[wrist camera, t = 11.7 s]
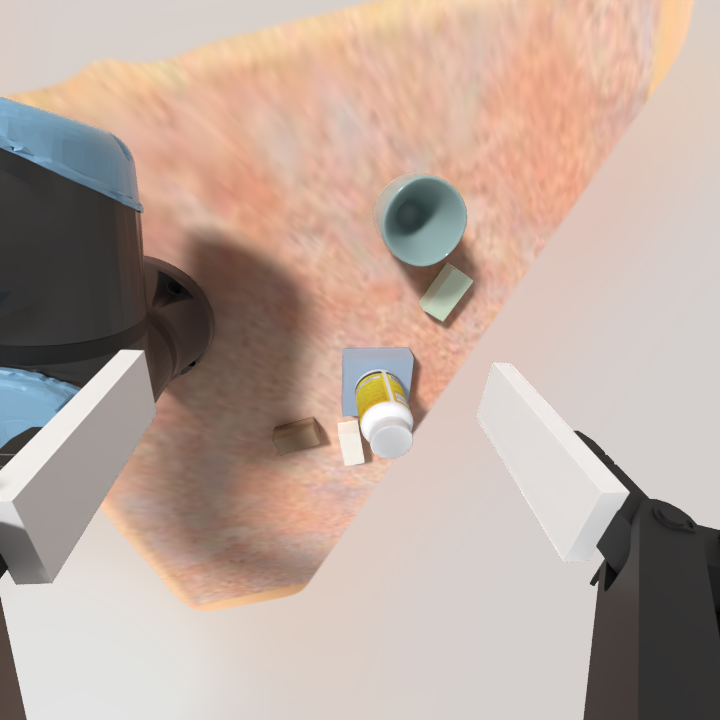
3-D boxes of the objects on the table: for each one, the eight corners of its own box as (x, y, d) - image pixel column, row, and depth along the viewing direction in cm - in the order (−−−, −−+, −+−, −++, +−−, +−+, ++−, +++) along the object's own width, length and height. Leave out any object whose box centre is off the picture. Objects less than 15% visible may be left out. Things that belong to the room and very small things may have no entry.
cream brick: (362, 449, 59) (364, 462, 57) (343, 452, 59) (345, 466, 57) (357, 419, 56) (359, 432, 54) (337, 422, 56) (338, 435, 54)
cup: (450, 201, 43) (485, 214, 34) (406, 257, 45) (427, 282, 36) (398, 154, 40) (422, 154, 31) (354, 217, 42) (364, 233, 34)
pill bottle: (350, 404, 51) (357, 462, 41) (358, 364, 48) (369, 417, 38) (394, 408, 52) (411, 466, 42) (405, 370, 49) (426, 423, 39)
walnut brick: (282, 441, 57) (280, 455, 54) (274, 426, 55) (272, 440, 53) (319, 430, 57) (320, 444, 54) (313, 415, 55) (313, 428, 53)
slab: (341, 403, 54) (342, 416, 52) (342, 348, 50) (344, 359, 47) (402, 402, 55) (406, 414, 53) (408, 347, 51) (413, 358, 48)
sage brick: (436, 312, 49) (442, 321, 47) (418, 301, 48) (423, 310, 46) (465, 273, 47) (473, 280, 44) (446, 261, 46) (454, 268, 43)
